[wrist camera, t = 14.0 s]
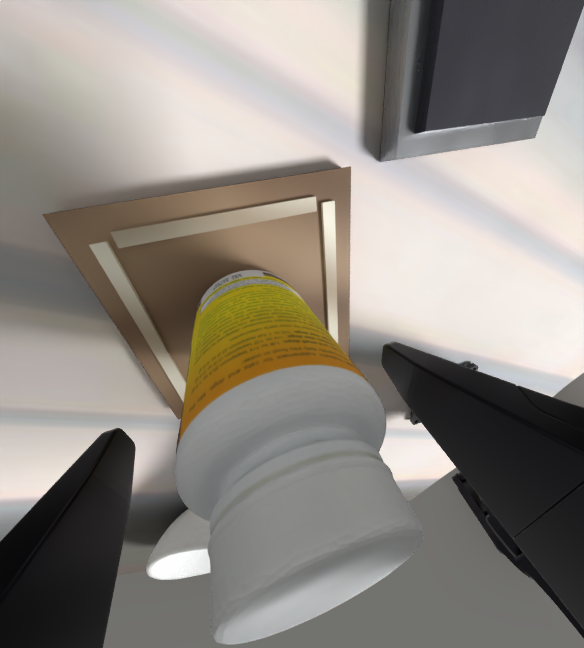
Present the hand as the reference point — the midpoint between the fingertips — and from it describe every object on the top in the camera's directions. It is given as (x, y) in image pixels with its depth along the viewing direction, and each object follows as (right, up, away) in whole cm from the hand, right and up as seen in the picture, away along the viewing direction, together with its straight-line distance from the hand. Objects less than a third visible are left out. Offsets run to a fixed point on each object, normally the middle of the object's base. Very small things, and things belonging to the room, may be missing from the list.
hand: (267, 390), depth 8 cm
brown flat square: (-2, +3, +5) cm, 6 cm away
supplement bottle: (-1, +3, +5) cm, 6 cm away
